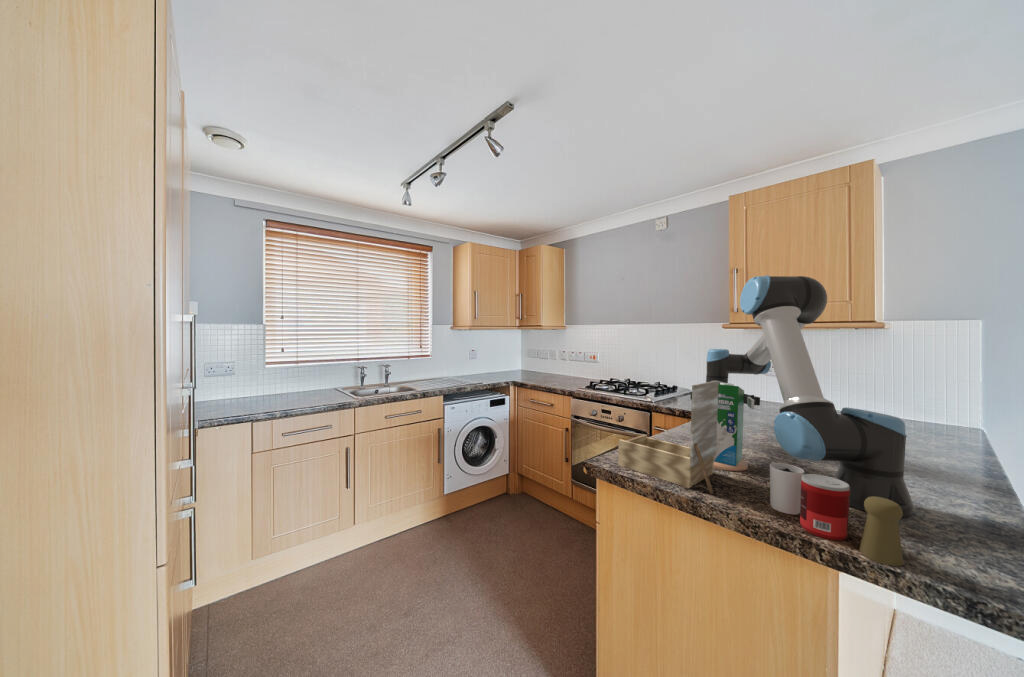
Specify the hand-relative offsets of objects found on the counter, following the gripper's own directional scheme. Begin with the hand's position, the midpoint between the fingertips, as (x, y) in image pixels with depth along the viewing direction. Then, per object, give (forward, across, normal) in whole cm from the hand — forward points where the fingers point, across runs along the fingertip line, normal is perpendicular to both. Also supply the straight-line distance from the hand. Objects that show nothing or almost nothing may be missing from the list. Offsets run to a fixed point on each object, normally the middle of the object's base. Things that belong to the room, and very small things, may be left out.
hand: (727, 402), depth 116 cm
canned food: (+34, -14, -21) cm, 43 cm away
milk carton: (-4, 0, -20) cm, 20 cm away
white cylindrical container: (+25, -10, -21) cm, 34 cm away
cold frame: (+12, +15, -21) cm, 28 cm away
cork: (+41, -21, -21) cm, 50 cm away
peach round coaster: (-3, 0, -20) cm, 21 cm away
